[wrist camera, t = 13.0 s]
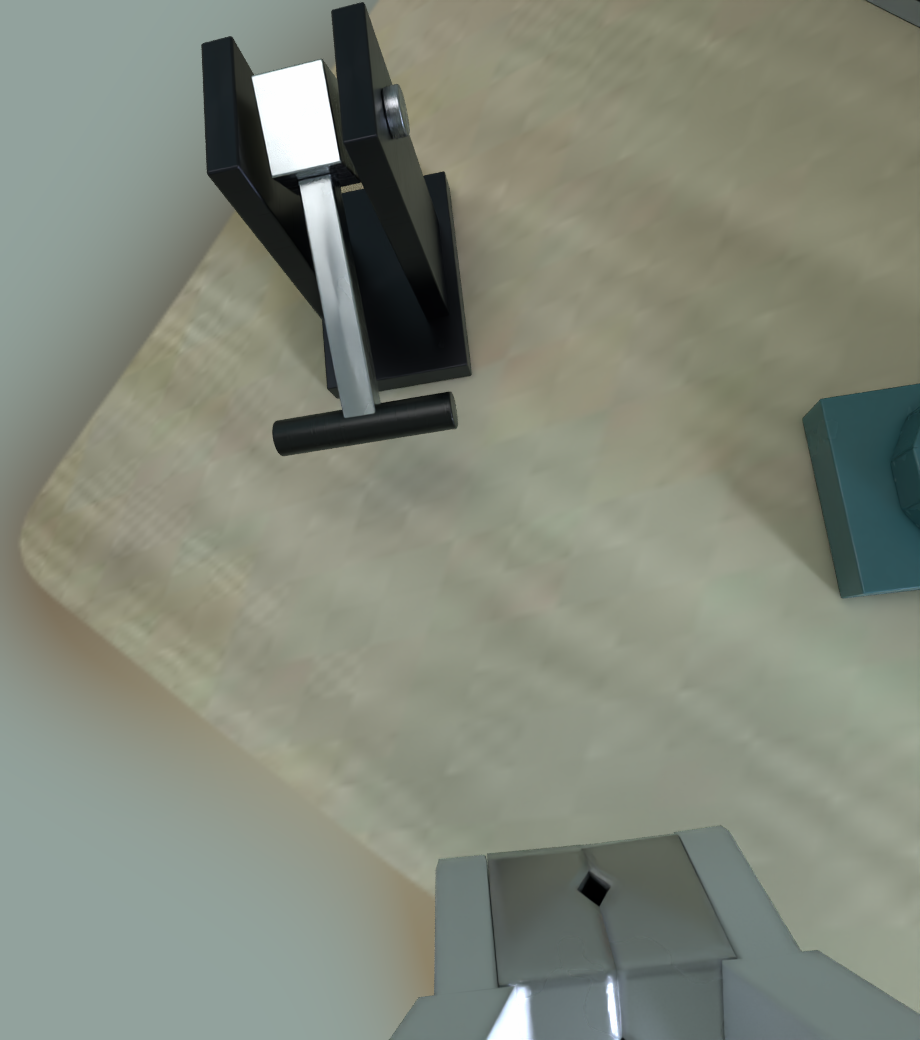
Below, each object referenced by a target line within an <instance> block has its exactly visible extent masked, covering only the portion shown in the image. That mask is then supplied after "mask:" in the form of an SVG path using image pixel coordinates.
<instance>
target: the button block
mask: <svg viewBox="0 0 920 1040" xmlns="http://www.w3.org/2000/svg"><path fill="white" fill-rule="evenodd" d="M803 423H804V428H805V433H806V437H807V442H808V446H809V451H810V456H811V460H812V465H813V470H814V474H815V479H816V484H817V488H818V493H819V497H820V502H821V507H822V511H823V516H824V521H825V525H826V530H827V535H828V539H829V544H830V548H831V553H832V558H833V562H834V567H835V572H836V576H837V581H838V586H839V590H840V595H841V598H852V597H860V596H869V595H878V594H886V593H895V592H903V591H912V590H920V384H913V385H907V386H901V387H894V388H888V389H881V390H875V391H868V392H862V393H855V394H849V395H843V396H836V397H830V398H823V399H820V400H819V401H818V402H817V403H816V404H815V405H814V407H813V408H812V409H811V410H810V411H809V412H808V413H807V414H806V415H805V416H804V417H803Z"/></svg>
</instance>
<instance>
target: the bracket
mask: <svg viewBox="0 0 920 1040" xmlns="http://www.w3.org/2000/svg"><path fill="white" fill-rule="evenodd" d="M331 14H332V25H333V37H334V48H335V60H336V72H337V83H338V95H339V106H340V118H341V129H342V141H343V145H344V147H345V149H346V151H347V153H348V155H349V157H350V159H351V162H352V164H353V166H354V168H355V170H356V172H357V174H358V176H359V178H360V181H361V183H362V185H363V187H364V189H360V190H355V191H350V192H346V193H342V198H343V203H344V209H345V214H346V219H347V225H348V230H349V235H350V241H351V246H352V252H353V257H354V262H355V268H356V273H357V278H358V284H359V289H360V294H361V300H362V305H363V311H364V316H365V321H366V327H367V332H368V337H369V343H370V348H371V353H372V359H373V364H374V369H375V375H376V380H377V386H378V391H384V390H389V389H395V388H401V387H407V386H413V385H419V384H424V383H430V382H436V381H442V380H448V379H454V378H459V377H465V376H471V375H472V372H471V364H470V355H469V347H468V339H467V330H466V322H465V313H464V305H463V297H462V288H461V280H460V272H459V263H458V255H457V247H456V238H455V230H454V221H453V213H452V205H451V196H450V188H449V185H448V181H447V178H446V175H445V172H439V173H434V174H429V175H425V176H423V174H422V171H421V168H420V165H419V162H418V159H417V156H416V153H415V150H414V147H413V144H412V141H411V138H410V135H409V133H410V128H409V120H408V114H407V109H406V104H405V100H404V96H403V93H402V90H401V88H400V86H399V85H398V84H395V85H392V82H391V79H390V76H389V73H388V70H387V68H386V65H385V62H384V59H383V56H382V53H381V50H380V47H379V44H378V41H377V38H376V35H375V32H374V29H373V26H372V23H371V20H370V17H369V15H368V12H367V9H366V6H365V4H364V3H363V2H361V3H357V4H353V5H349V6H345V7H341V8H338V9H334V10H332V11H331ZM201 46H202V70H203V93H204V114H205V139H206V163H207V174H208V176H209V177H210V178H211V180H212V181H213V182H214V183H215V185H216V186H217V187H218V188H219V190H220V191H221V192H222V194H223V195H224V196H225V197H226V199H227V200H228V201H229V202H230V204H231V205H232V206H233V207H234V209H235V210H236V211H237V213H238V214H239V215H240V216H241V218H242V219H243V220H244V221H245V223H246V224H247V225H248V226H249V228H250V229H251V230H252V232H253V233H254V234H255V235H256V237H257V238H258V239H259V240H260V242H261V243H262V244H263V245H264V247H265V248H266V249H267V251H268V252H269V253H270V254H271V256H272V257H273V258H274V259H275V261H276V262H277V263H278V264H279V266H280V267H281V268H282V270H283V271H284V272H285V273H286V275H287V276H288V277H289V278H290V280H291V281H292V282H293V283H294V285H295V286H296V287H297V289H298V290H299V291H300V292H301V294H302V295H303V296H304V297H305V299H306V300H307V301H308V302H309V304H310V305H311V306H312V308H313V309H314V310H315V311H316V313H317V314H318V315H319V316H320V318H321V319H322V326H323V339H324V352H325V365H326V378H327V389H328V390H329V391H330V392H331V393H332V394H333V395H334V396H335V397H336V398H340V396H339V391H338V386H337V381H336V375H335V370H334V365H333V360H332V355H331V350H330V345H329V340H328V335H327V330H326V325H325V320H324V315H323V310H322V305H321V299H320V294H319V289H318V284H317V279H316V274H315V269H314V264H313V259H312V254H311V249H310V244H309V239H308V234H307V228H306V223H305V218H304V213H303V208H302V203H301V198H300V196H297V195H296V194H294V193H293V192H292V191H290V190H289V189H287V188H286V187H284V186H283V185H281V184H280V183H278V182H277V181H276V180H274V179H273V178H272V177H271V174H270V170H269V165H268V160H267V155H266V150H265V145H264V140H263V135H262V130H261V125H260V120H259V116H258V111H257V106H256V101H255V96H254V91H253V86H252V81H251V76H253V75H254V74H253V72H252V71H251V69H250V67H249V65H248V63H247V62H246V60H245V58H244V57H243V55H242V53H241V51H240V50H239V48H238V47H237V44H236V43H235V41H234V39H233V37H231V36H229V37H225V38H221V39H218V40H213V41H210V42H205V43H203V44H202V45H201Z"/></svg>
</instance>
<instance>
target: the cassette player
mask: <svg viewBox="0 0 920 1040" xmlns="http://www.w3.org/2000/svg"><path fill="white" fill-rule="evenodd" d="M867 1H869V2H871V3H873V4H875V5H877V6H879V7H881V8H883V9H885V10H887V11H889V12H891V13H893V14H895V15H897V16H899V17H901V18H903V19H905V20H906V21H908V22H910V23H912V24H914V25H916V26H918V27H920V0H867Z"/></svg>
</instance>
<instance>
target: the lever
mask: <svg viewBox="0 0 920 1040" xmlns="http://www.w3.org/2000/svg"><path fill="white" fill-rule="evenodd" d="M251 81H252V86H253V91H254V96H255V101H256V106H257V111H258V116H259V120H260V125H261V130H262V135H263V140H264V145H265V150H266V155H267V160H268V165H269V170H270V174H271V177H272V178H273V179H274V180H276V181H277V182H278V183H280V184H281V185H283V186H284V187H286V188H287V189H289V190H290V191H292V192H293V193H294V194H296V195H297V196H300V198H301V203H302V208H303V213H304V218H305V223H306V228H307V234H308V239H309V244H310V249H311V254H312V259H313V264H314V269H315V274H316V279H317V284H318V289H319V294H320V299H321V305H322V310H323V315H324V320H325V325H326V330H327V335H328V340H329V345H330V350H331V355H332V360H333V365H334V370H335V375H336V381H337V386H338V391H339V396H340V401H341V406H342V410H338V411H332V412H326V413H320V414H314V415H308V416H302V417H296V418H290V419H284V420H278V421H276V422H274V424H273V430H272V433H273V441H274V444H275V447H276V449H277V451H278V453H279V454H280V455H281V456H288V455H295V454H301V453H307V452H313V451H319V450H326V449H332V448H338V447H344V446H350V445H357V444H363V443H369V442H375V441H382V440H388V439H394V438H400V437H406V436H413V435H419V434H425V433H431V432H437V431H444V430H450V429H456V428H457V426H458V418H457V410H456V404H455V400H454V396H453V394H452V392H444V393H438V394H432V395H426V396H420V397H415V398H409V399H403V400H397V401H391V402H385V403H381V402H380V396H379V391H378V386H377V380H376V375H375V369H374V364H373V359H372V353H371V348H370V343H369V337H368V332H367V327H366V321H365V316H364V311H363V305H362V300H361V294H360V289H359V284H358V278H357V273H356V268H355V262H354V257H353V252H352V246H351V241H350V235H349V230H348V225H347V219H346V214H345V209H344V203H343V198H342V193H341V187H343V186H347V185H352V184H357V183H360V182H361V181H360V178H359V176H358V174H357V172H356V170H355V168H354V166H353V164H352V162H351V159H350V157H349V155H348V153H347V151H346V149H345V147H344V145H343V141H342V129H341V118H340V106H339V95H338V83H337V78H336V77H335V76H334V74H333V73H332V72H331V70H330V69H329V67H328V66H327V65H326V64H325V62H324V61H323V59H318V60H314V61H310V62H306V63H302V64H298V65H294V66H290V67H285V68H281V69H278V70H273V71H269V72H265V73H261V74H257V75H253V76H251Z"/></svg>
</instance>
